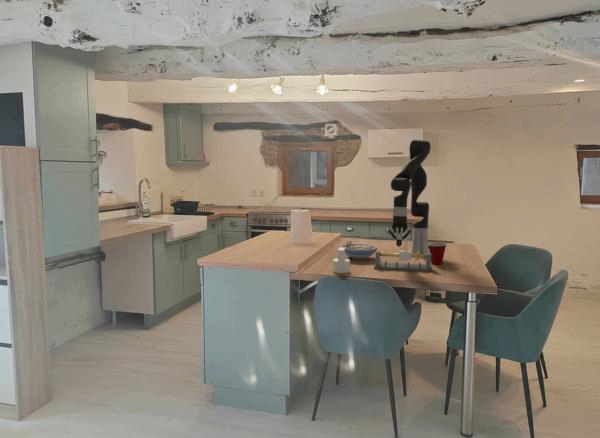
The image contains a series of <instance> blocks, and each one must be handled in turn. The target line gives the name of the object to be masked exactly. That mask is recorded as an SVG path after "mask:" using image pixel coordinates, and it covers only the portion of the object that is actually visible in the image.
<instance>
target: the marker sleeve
mask: <svg viewBox="0 0 600 438" xmlns="http://www.w3.org/2000/svg"><path fill="white" fill-rule="evenodd" d="M407 241H408V239H407V237H406V238H405V239H404V248H403V249H404V250H403V249H402V250H399V254H400V257H399V261H407V262H411V260H412V257H411V254H412V250H407V248H408V247H407V246H408V245H407V243H408V242H407Z"/></svg>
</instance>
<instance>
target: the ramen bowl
mask: <svg viewBox="0 0 600 438" xmlns="http://www.w3.org/2000/svg"><path fill="white" fill-rule="evenodd" d="M346 242H347V243H343V244H341V245H339V247H344V248H345V256H346V257H347V256H348V257H349V258H352V259H354V260H365V259H367V258H370V257H372V256H373V255H374V254H376V251H378V249H379V247H378V245H376V244H371V243H359V242H358V243H352V241H350V242H349V241H346Z"/></svg>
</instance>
